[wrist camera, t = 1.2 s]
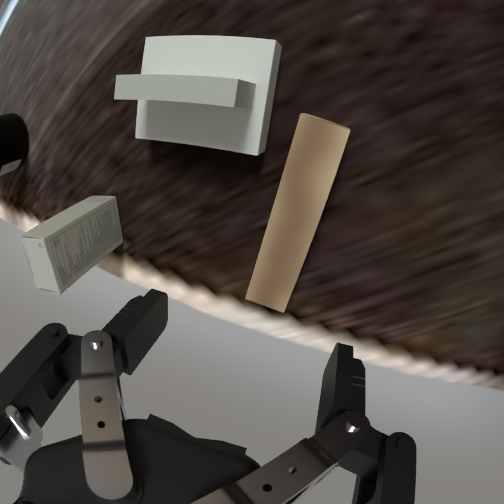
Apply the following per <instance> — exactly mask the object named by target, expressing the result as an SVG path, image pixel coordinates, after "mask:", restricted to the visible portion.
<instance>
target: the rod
mask: <svg viewBox="0 0 504 504" xmlns="http://www.w3.org/2000/svg"><path fill="white" fill-rule="evenodd" d="M349 133H350V129H349V128H348V127H345V126H342V125H339V124H336V123H334V122H331V121H328V120H325V119H322V118H319V117H315V116H312V115H309V114H306V113H302V114H300V118H299V121H298V125H297V128H296V131H295V135H294V138H293V142H292V145H291V148H290V152H289V155H288V158H287V162H286V165H285V169H284V172H283V175H282V179H281V182H280V185H279V189H278V192H277V195H276V199H275V202H274V205H273V209H272V212H271V215H270V219H269V222H268V225H267V229H266V232H265V235H264V239H263V242H262V245H261V249H260V252H259V255H258V259H257V262H256V265H255V269H254V272H253V275H252V278H251V282H250V285H249V288H248V292H247V295H246V298H245V299H247V300H250V301H252V302H255V303H258V304H261V305H264V306H266V307H269V308H272V309H275V310H278V311H280V312H283V313H284V311H285V308H286V306H287V303H288V301H289V298H290V296H291V293H292V291H293V288H294V286H295V283H296V281H297V278H298V276H299V273H300V270H301V268H302V265H303V263H304V260H305V257H306V255H307V252H308V250H309V247H310V244H311V242H312V239H313V236H314V234H315V231H316V228H317V225H318V223H319V220H320V217H321V214H322V212H323V209H324V206H325V203H326V201H327V198H328V195H329V192H330V189H331V186H332V184H333V181H334V178H335V175H336V172H337V169H338V166H339V163H340V160H341V157H342V154H343V151H344V148H345V145H346V142H347V139H348V136H349Z"/></svg>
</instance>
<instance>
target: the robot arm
mask: <svg viewBox="0 0 504 504" xmlns="http://www.w3.org/2000/svg"><path fill="white" fill-rule="evenodd" d="M167 321H168V295H167V294H166V293H164V292H161V291H158V290H155V289H151V290H150V291H149V292H148V293H147V294H146V295H145V296H144V297H143V296H137V297H135V298H133V299H131V300H130V301H129V302H128V303H127V304H126V305H125V306H124V308H122V309H121V310H120V311H119V313H117V314H116V315H115V316H114V318H113V319H112V320H111V321H110V322H109V323H108V324H107V325H106V326H105V327H104V328H103V329H102V330H101V331H100V330H96V331H91V332H88V333H87V334H85V335H84V336H78V335H72V334H68V332H67V329H66V327H65V326H64V325H62V324H60V323H51V324H48V325H46V326H44V327H43V328H42V329H41V330H40V331H39V332H38V333H37V334H36V335H35V336H34V337H33V339H31V341H30V342H29V343H28V344H27V345H26V346H25V347H24V348H23V349H22V350H21V351H20V352H19V353H18V355H16V357H15V358H14V359H13V360H12V361H11V362H10V363H9V364H8V365H7V367H6V368H5V369H4V370H3V371H2V372H1V373H0V460H1V461H2V462H4V463H5V464H9V465H13V466H15V467H16V468H18V469H19V470H20V471H21V472H23V473H24V480H23V486H22V490H21V493H20V495H19V498H18V499H17V500H16V501H15V502H14V503H13V504H293V503H294V502H296V501H297V500H298V499H300V498H301V497H302V496H303V495H305V494H306V493H307V492H308V491H309V490H310V489H312V488H313V487H314V486H315V485H317V484H318V483H319V482H320V481H322V480H323V479H324V478H325V477H326V476H328V475H329V474H330V473H331V472H332V471H333V470H335V469H336V468H337V467H338V466H340V467H342V468H344V469H346V470H348V471H350V472H352V473H354V474H357V478H356V483H355V489H354V494H353V500H352V504H414V501H415V484H416V444H415V441H414V440H413V438H412V437H410V436H409V435H408V434H406V433H403V432H396V433H393V434H391V435H390V436H388V435H386V434H384V433H381V432H379V431H377V430H375V429H374V428H373V427H371V425H370V422H369V420H368V418H367V417H366V416H365V367H364V365H363V363H362V361H361V360H360V359H355V358H353V346H350V345H345V344H341V343H336V345H335V347H334V350H333V352H332V354H331V356H330V359H329V361H328V363H327V365H326V368H325V371H324V375H323V380H322V388H321V395H320V402H319V409H318V416H317V422H316V429H315V435H313V436H312V437H311V438H309V439H307V438H305V439H303V440H301V441H300V442H298V443H297V444H295V445H294V446H292V447H291V448H289V449H288V450H287V451H285V452H284V453H282V454H281V455H279V456H278V457H276V458H274V459H273V460H271V461H270V462H268V463H267V464H265V465H264V466H262V467H261V466H260V465H259V464H258V463H257V462H256V461H255V460H253V459H252V458H250V457H249V456H247V455H245V452H246V449H247V448H244V447H241V446H237V445H234V444H231V443H227V442H224V441H219V440H210V439H201V438H195V437H193V436H191V435H190V434H188V433H186V432H185V431H184V430H182V429H181V428H179V427H178V426H176V425H175V424H173V423H171V422H168V421H166V420H164V419H161V418H159V417H157V416H154V415H152V414H150V415H149V417H148V419H147V420H146V419H127V418H126V414H125V409H124V403H123V397H122V392H121V385H120V379H119V377H120V375H121V374H122V373H123V372H124V373H126V374H128V375H131V374H132V373H133V372H134V370H135V369H136V368H137V366H138V365H139V363H140V362H141V361H142V359H143V358H144V356H145V355H146V354H147V352H148V351H149V350H150V348H151V347H152V346H153V344H154V342H156V340H157V339H158V337H159V336H160V335H161V333H162V332H163V331H164V329H165V327H166V324H167ZM76 380H79V397H80V414H81V425H82V435H79V436H76V437H73V438H70V439H67V440H63V441H60V442H57V443H53V444H50V445H46V446H43V447H41V441H42V438H43V433H42V430H41V428H42V427H43V425H44V424H45V422H46V421H47V420H48V418H49V416H50V415H51V414H52V412H53V411H54V410H55V408H56V407H57V405H58V404H59V403H60V401H61V400H62V398H63V397H64V396H65V394H66V393H67V392H68V390H69V389H70V387H71V386H72V384H73V383H74V382H75V381H76Z"/></svg>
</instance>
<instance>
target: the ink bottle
mask: <svg viewBox="0 0 504 504" xmlns="http://www.w3.org/2000/svg"><path fill="white" fill-rule="evenodd" d="M27 146H28V138H27V130H26V126H25V124H24V122H23V120H22V119H21V117H20V116H18V115H17V114H14V113H9V114H4V115H0V175H3V174H6V173H8V172H11V171H13V170H16V169H18V168H20V167H21V166H22V164H23V163H24V161H25V158H26V154H27Z"/></svg>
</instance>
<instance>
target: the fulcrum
mask: <svg viewBox="0 0 504 504" xmlns="http://www.w3.org/2000/svg"><path fill="white" fill-rule="evenodd" d="M281 50H282V46H281V45H280V44H279V43H278V42H277V41H276V40H269V39H259V38H247V37H232V36H159V37H146V42H145V49H144V56H143V63H142V71H141V74H137V75H117V76H116V85H115V96H114V99H133V100H138V109H137V122H136V137H135V138H141V139H150V140H159V141H167V142H175V143H182V144H189V145H196V146H203V147H210V148H216V149H222V150H228V151H234V152H240V153H245V154H251V155H256V156H258V155H259V154H261V153H263V152H264V151H265V148H266V142H267V136H268V130H269V124H270V117H271V111H272V105H273V99H274V93H275V86H276V80H277V74H278V68H279V62H280V56H281Z"/></svg>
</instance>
